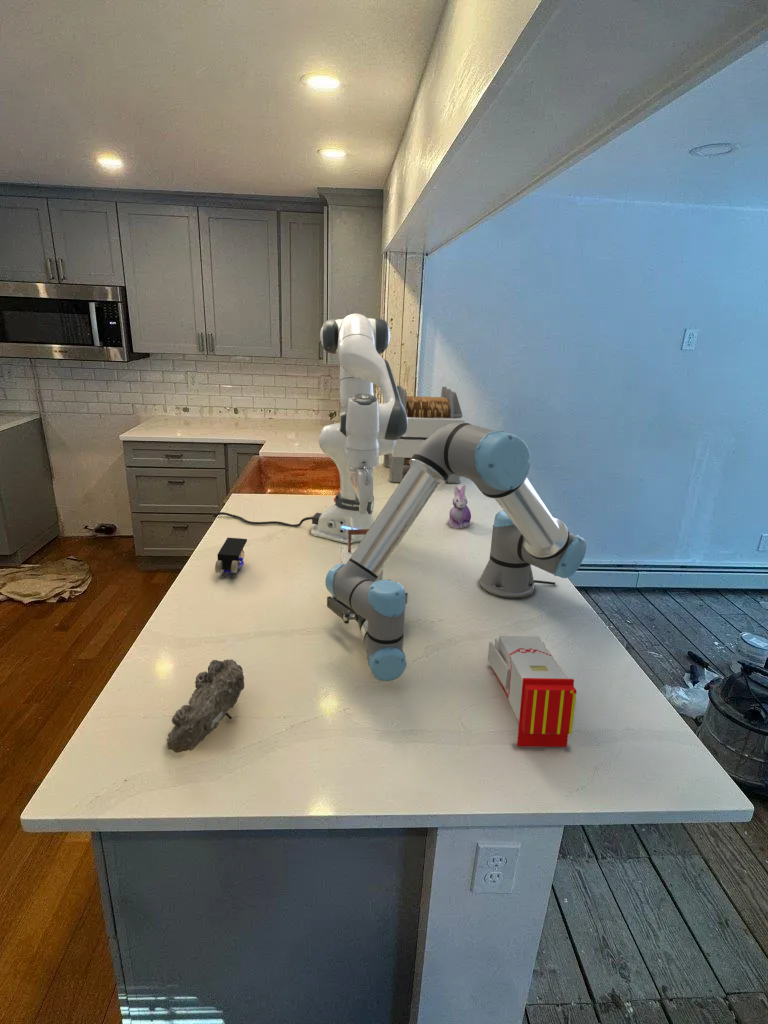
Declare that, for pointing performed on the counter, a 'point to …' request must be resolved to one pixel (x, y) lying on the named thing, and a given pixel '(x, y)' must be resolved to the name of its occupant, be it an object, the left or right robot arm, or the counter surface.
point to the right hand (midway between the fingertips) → (363, 585)
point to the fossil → (206, 705)
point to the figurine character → (230, 556)
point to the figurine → (459, 509)
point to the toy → (534, 690)
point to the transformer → (422, 427)
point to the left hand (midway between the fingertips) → (360, 507)
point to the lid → (349, 551)
